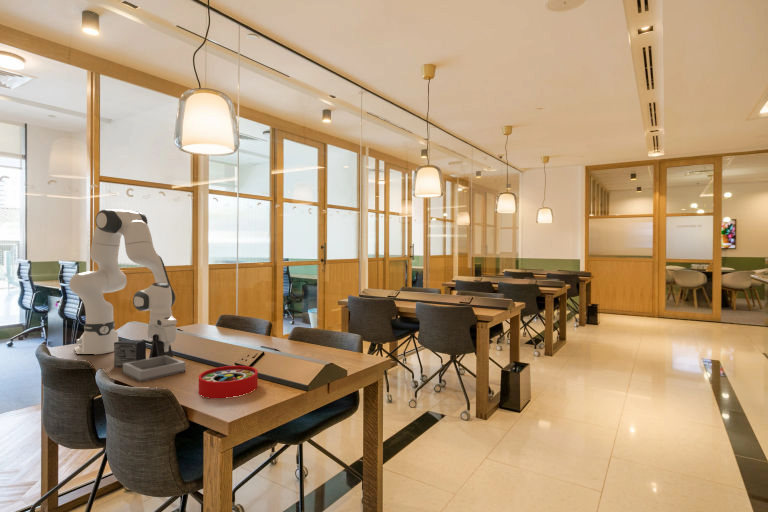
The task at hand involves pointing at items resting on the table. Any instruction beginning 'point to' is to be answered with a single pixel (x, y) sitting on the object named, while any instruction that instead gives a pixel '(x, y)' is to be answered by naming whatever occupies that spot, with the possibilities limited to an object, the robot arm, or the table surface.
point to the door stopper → (159, 348)
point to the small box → (129, 351)
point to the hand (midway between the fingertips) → (161, 349)
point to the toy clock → (228, 381)
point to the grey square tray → (153, 368)
